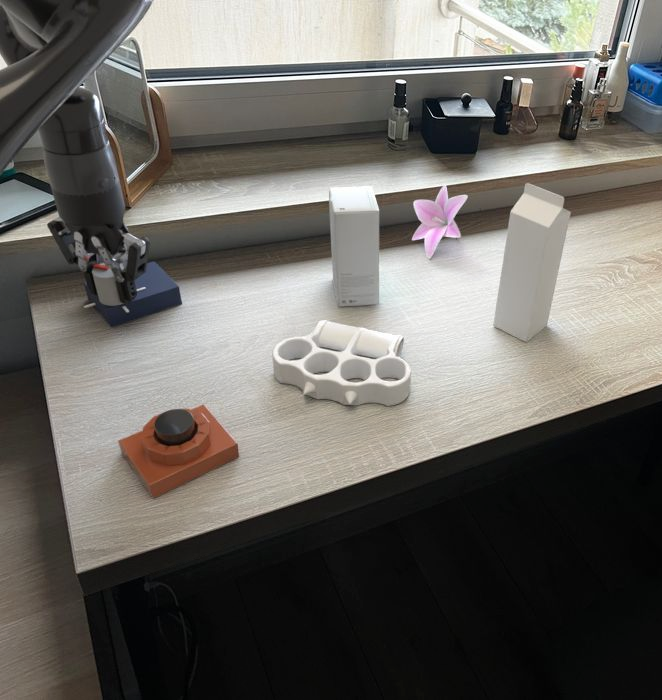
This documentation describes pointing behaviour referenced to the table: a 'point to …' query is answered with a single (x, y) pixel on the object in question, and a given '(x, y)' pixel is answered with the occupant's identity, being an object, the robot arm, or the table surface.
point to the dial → (106, 284)
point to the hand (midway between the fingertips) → (113, 295)
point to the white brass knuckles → (344, 365)
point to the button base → (178, 453)
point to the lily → (437, 219)
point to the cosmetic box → (354, 245)
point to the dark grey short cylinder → (175, 427)
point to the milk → (531, 262)
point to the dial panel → (141, 297)
